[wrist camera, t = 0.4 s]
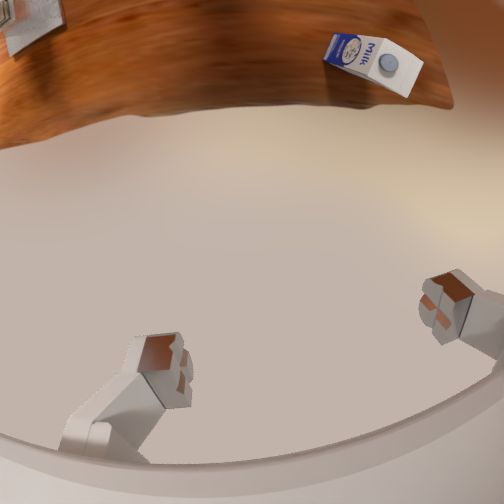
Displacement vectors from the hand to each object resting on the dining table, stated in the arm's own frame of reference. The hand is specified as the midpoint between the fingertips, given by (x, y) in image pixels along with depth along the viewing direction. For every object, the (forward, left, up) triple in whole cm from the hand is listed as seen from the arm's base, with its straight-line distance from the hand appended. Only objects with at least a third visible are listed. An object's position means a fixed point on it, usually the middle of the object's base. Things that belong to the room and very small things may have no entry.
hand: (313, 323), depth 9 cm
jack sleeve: (-3, -44, -51) cm, 67 cm away
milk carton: (-16, +18, -51) cm, 57 cm away
